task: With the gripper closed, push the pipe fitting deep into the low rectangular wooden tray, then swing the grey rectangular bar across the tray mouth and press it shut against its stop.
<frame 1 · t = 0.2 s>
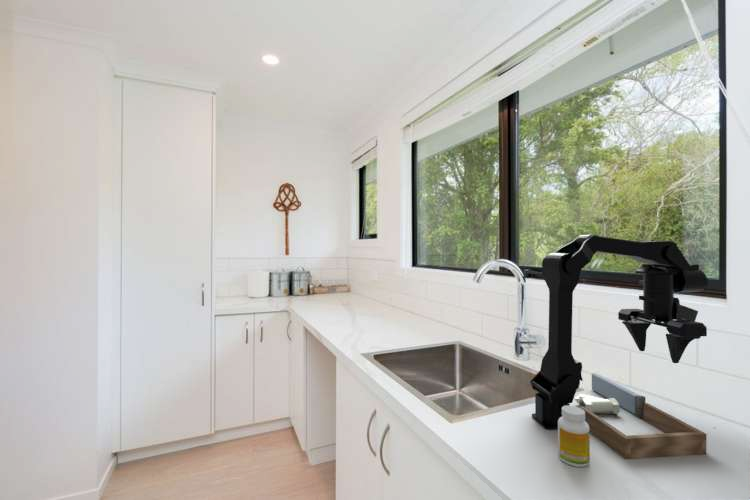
hand: (657, 356, 85), 14 cm above the worktop, tool pointing down, fingers open, 9 cm apart
supplement bottle: (573, 460, 68), on the worktop
rectangular wooden tray: (637, 437, 76), on the worktop
grey rectangular bar: (614, 392, 93), point 2 cm above the worktop, hinge at -90.0°
pipe fitting: (594, 411, 89), on the worktop
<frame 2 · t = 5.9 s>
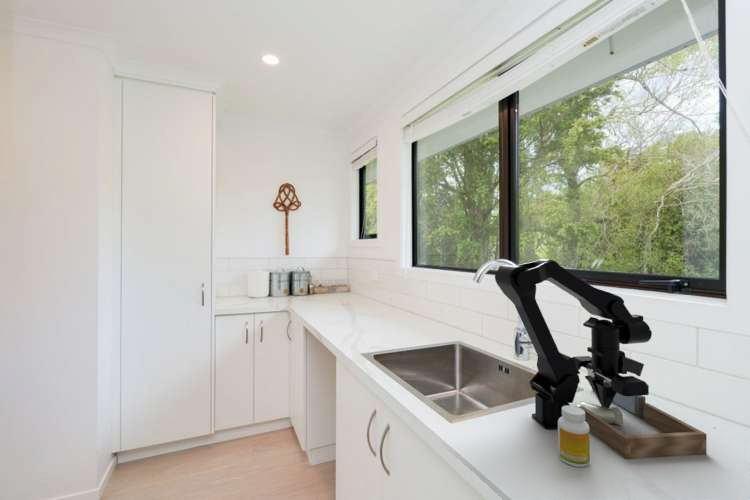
hand: (605, 409, 85), 2 cm above the worktop, tool pointing down, fingers closed
pipe fitting: (597, 420, 84), on the worktop, touching gripper
everything else where it was.
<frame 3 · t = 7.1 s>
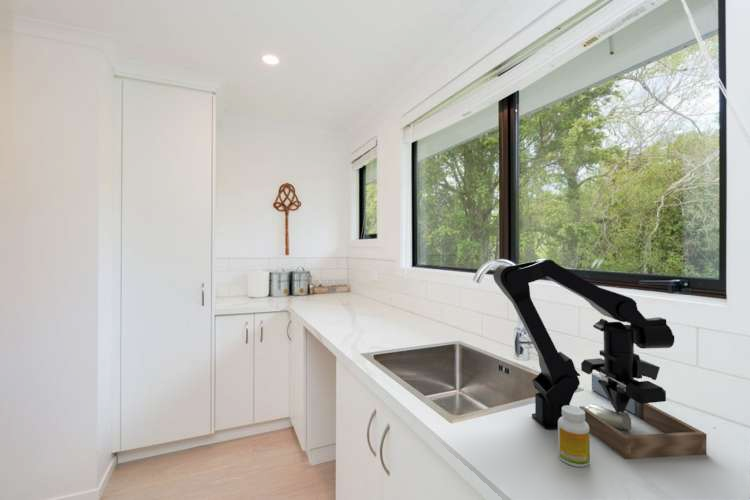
hand: (620, 414, 82), 2 cm above the worktop, tool pointing down, fingers closed
pipe fitting: (605, 424, 82), on the worktop, touching rectangular wooden tray, gripper
everything else where it was.
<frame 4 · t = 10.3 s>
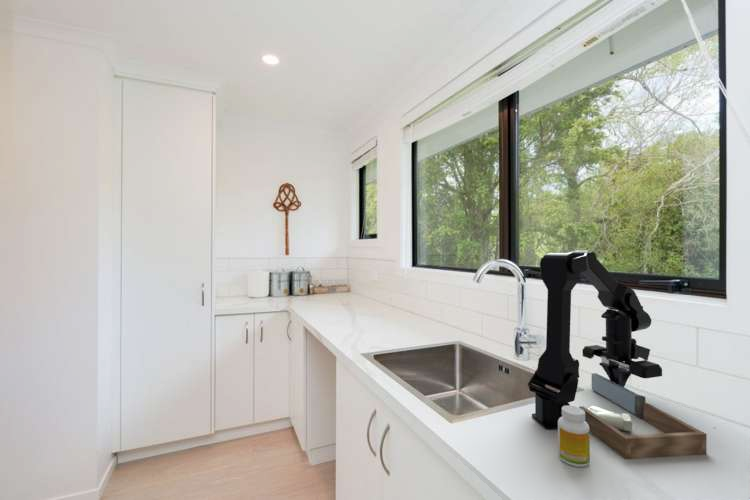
hand: (619, 391, 94), 2 cm above the worktop, tool pointing down, fingers closed
grey rectangular bar: (614, 392, 93), point 2 cm above the worktop, hinge at -89.9°, touching gripper
pipe fitting: (606, 426, 81), on the worktop, touching rectangular wooden tray
everything else where it was.
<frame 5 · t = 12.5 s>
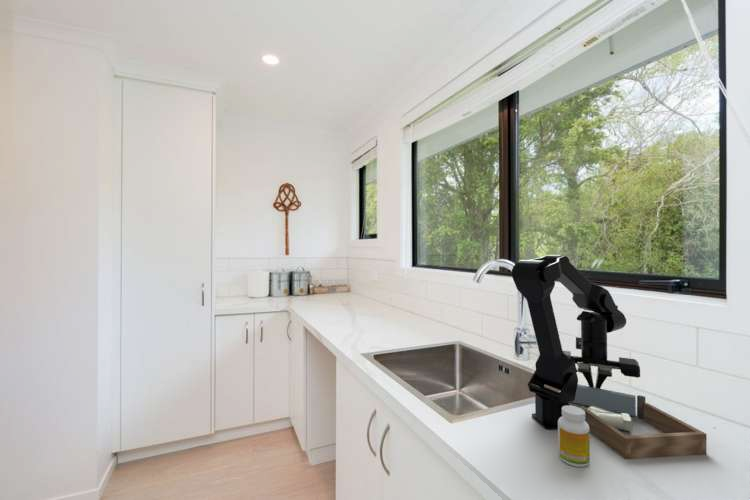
hand: (594, 394, 92), 2 cm above the worktop, tool pointing down, fingers closed
grey rectangular bar: (598, 398, 89), point 2 cm above the worktop, hinge at -40.7°, touching gripper
pipe fitting: (606, 426, 81), on the worktop
everything else where it was.
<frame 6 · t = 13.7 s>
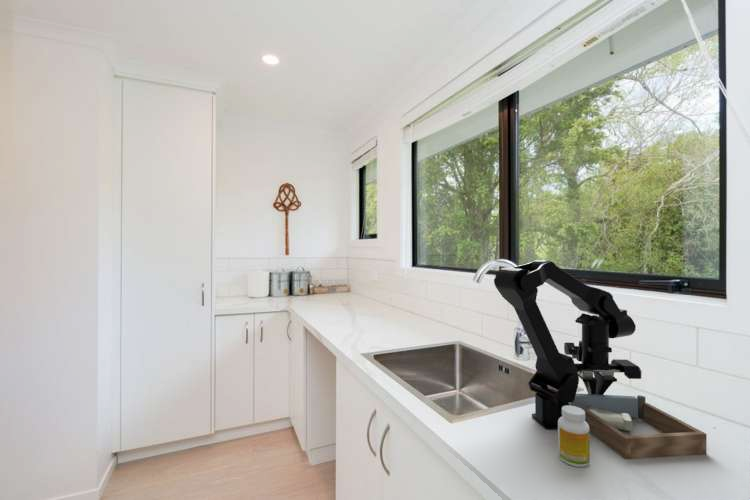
hand: (594, 401, 88), 2 cm above the worktop, tool pointing down, fingers closed, pressing on grey rectangular bar
grey rectangular bar: (602, 405, 86), point 2 cm above the worktop, hinge at -12.9°, touching gripper, pipe fitting
pipe fitting: (606, 426, 81), on the worktop, touching grey rectangular bar
everything else where it was.
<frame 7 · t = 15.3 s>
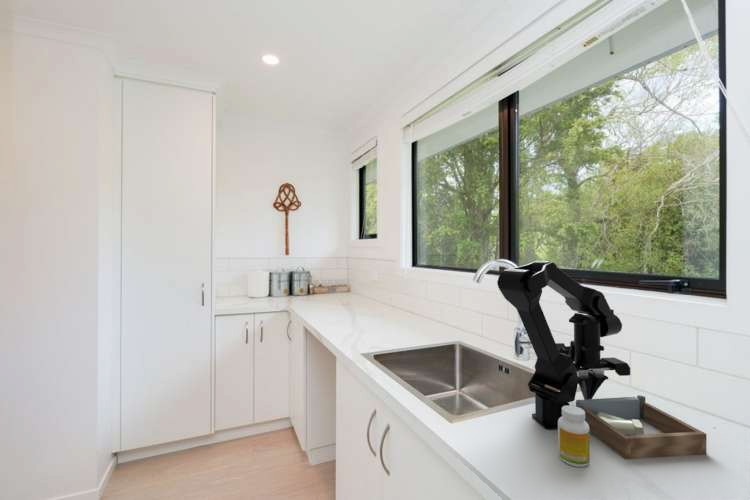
hand: (587, 400, 89), 2 cm above the worktop, tool pointing down, fingers closed
grey rectangular bar: (607, 409, 84), point 2 cm above the worktop, hinge at 0.8°
pipe fitting: (615, 433, 78), on the worktop
everything else where it was.
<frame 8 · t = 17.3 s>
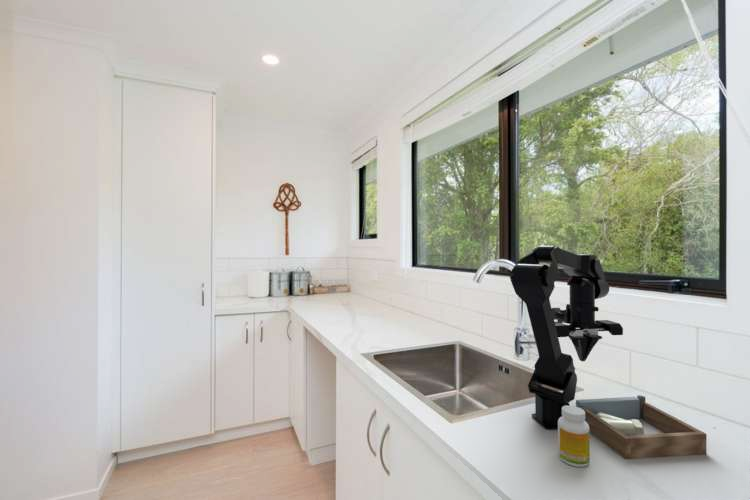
hand: (582, 360, 93), 11 cm above the worktop, tool pointing down, fingers closed
nothing on the worktop moved.
at the end: pipe fitting inside the target area (4.9 cm from its centre), on the worktop; grey rectangular bar at +1° (first picture: -90°) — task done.
